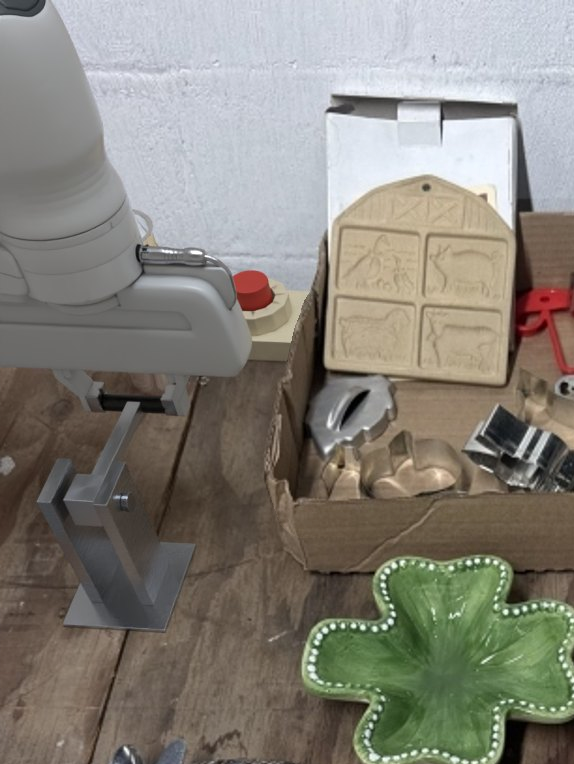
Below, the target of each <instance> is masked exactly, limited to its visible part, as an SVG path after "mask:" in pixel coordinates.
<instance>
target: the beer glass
mask: <svg viewBox="0 0 574 764" xmlns="http://www.w3.org/2000/svg"><path fill="white" fill-rule="evenodd" d="M132 211H133V213H134V216H135V219H136V222H137V225H138V228H139V231H140V234H141V237H142V240H143V243H144V246H162V243H161V240H160V239H159V235H158V234H157V231H156V229H155V226H154V223H153V220H152V219H151V218H150V216H149V215H148V214H146V213H145V212H143V211H140V210H138V209H134V208H132ZM129 374H130V381H131V383H132V386H133V387H134V389H136V390H137V391H139V392H142V393H144V394H145V395H150V396H162V395H163V394H164V393H165V391H164V390H165V388H166V386H167V385H176V383H169V382H168V381H167V379H166V376H165V374H150V373H129ZM200 377H201V376H194V375H190V377H189V380H188V383H187V386H189V385H190V384H191V383H192V382H193V381H196V382H197V381H198V382H199V381H200Z"/></svg>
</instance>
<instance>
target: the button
mask: <svg viewBox="0 0 574 764" xmlns="http://www.w3.org/2000/svg"><path fill="white" fill-rule="evenodd" d="M232 276H233V280H234V283H235V287H236V292H237V300H238V302H239V304H240V307H241V309H242V311H256V310H260V309H263V308H266V307H267V306H268V305H270V304H271V303H272V294H271V290H270V286H269V282H268V278H269V277H268V276H267V275H266V274H265V273H264V272H262V271H259V270H252V269H250V270H249V269H248V270H243V271H239V272H238V273H236V274H234V275H232Z"/></svg>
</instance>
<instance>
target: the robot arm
mask: <svg viewBox="0 0 574 764" xmlns="http://www.w3.org/2000/svg"><path fill="white" fill-rule="evenodd" d="M80 58H81V57H80V56H79V53H78V51H77V48H76V46H75V43H74V42H73V39H72V38H71V35H70V33H69V31H68V28H67V27H66V24H65V23H64V20H63V18H62V17H61V15H60V12H59V11H58V9H57V8H56V6H55V5H54V2H52V0H0V368H16V369H40V370H51V372H52V375H53V376H54V379H55V380H57V381H58V382H59V383H60V384H61V385H63V386H64V387H65V388H67V389H68V390H69V391H70V393H71V392H72V393H73V394H74V395H75V396H77V397H78V398H79V400H80V403H81V405H82V407H83V410H84V412H86V413H98V414H99V413H100V414H104V413H107V411H106V410H105V409H104V407H103V402H102V400H103V396H104V394H109V392H107V389H108V388H107V386H106V384H105V382H104V381H95V380H94V379H93V378H92V377H90V375H89V374H87V372H104V373H105V372H108V373H109V372H110V373H128V374H130V373H150V374H165V376H166V379H167V381H168V382H169V383H176V385H167V386H166V388H165V390H164V391H165V393H164V394H163V395H161V396H162V397H161V403H162V405H163V407H164V408H165V409H166V410H165V413H166V414H165V415H166V416H169V417H183V418H185V417H187V416H188V414H189V412H190V409H191V399H190V397H189V394H188V390H187V386H188V385H187V383H188V380H189V377H190V375H194V376H199V377H217V378H235V377H237V376H238V375H240V373H241V372H242V370H243V369H244V367H245V366H246V364H247V363H248V358H249V355H250V351H251V347H252V338H251V334H250V331H249V328H248V325H247V322H246V319H245V317H244V314H243V312H242V309H241V307H240V304H239V302H238V300H237V292H236V287H235V283H234V280H233V276H234V275H233V273H232V271H231V268H230V267H229V265H228V264H226V263H225V262H223V261H222V260H221V259H219V258H217V257H215V256H213V255H211V254H208V253H207V251H206V250H205V249H204V248H199V247H193V246H191V247H184V248H176V247H168V246H144V243H143V240H142V237H141V234H140V231H139V228H138V225H137V222H136V219H135V216H134V213H133V211H132V209H133V208H132V204H131V202H130V199H129V196H128V193H127V190H126V187H125V185H124V182H123V179H122V178H121V175H120V174H119V172H118V171H117V169H116V168H115V167H114V165H113V164H112V162H111V160H110V158H109V156H108V153H107V150H106V145H105V130H104V122H103V120H102V116H101V112H100V109H99V107H98V104H97V101H96V98H95V96H94V93H93V90H92V87H91V84H90V81H89V78H88V76H87V73H86V72H85V68H84V66H83V64H82V61H81V59H80Z"/></svg>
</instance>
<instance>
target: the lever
mask: <svg viewBox="0 0 574 764" xmlns="http://www.w3.org/2000/svg"><path fill="white" fill-rule="evenodd" d="M161 397H162V395H151V394H125V393H124V394H123V393H108V394H104V396H103V400H102V402H103V407H104V409H105V410H106V412H113V413H114V412H115V413H117V412H118V413H120V414H119V417H118V419H117V421H116V423H115V425H114V427H113V429H112V431H111V433H110V435H109V437H108V439H107V442H106V444H105V445H104V448H103V449H102V451H101V454H100V456H99V458H98V459H97V462H96V464H95V466H94V467H93V470H92V472H91V473H78V474H76V476H75V478H74V480H73V482H72V484H71V486H70V487H69V489H68V491H67V493H66V495H65V497H64V499H63V501H64V503H65V505H66V507H67V509H68V511H69V513H70V515H71V517H72V519H73V521H74V524H75V525H83V526H103V525H102V523H101V521H100V518H99V516H98V514H97V512H96V510H95V508H94V506H93V503H94V501H95V498H96V496H97V494H98V492H99V489H100V487H101V485H102V483H103V481H104V478H105V476H106V474H107V472H108V469H109V467H110V465H111V463H112V461H119V462H122V460H123V458H124V456H125V454H126V452H127V450H128V447H129V446H130V444H131V441H132V439H133V437H134V435H135V433H136V431H137V428H138V426H139V424H140V422H141V420H142V419H143V416H144V414H159V415H160V414H161V415H166V413H165V410H166V409H165V408H164V407H163V405H162V403H161Z"/></svg>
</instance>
